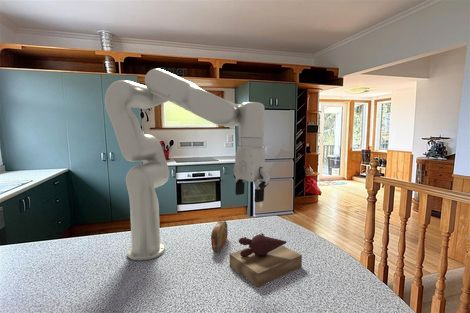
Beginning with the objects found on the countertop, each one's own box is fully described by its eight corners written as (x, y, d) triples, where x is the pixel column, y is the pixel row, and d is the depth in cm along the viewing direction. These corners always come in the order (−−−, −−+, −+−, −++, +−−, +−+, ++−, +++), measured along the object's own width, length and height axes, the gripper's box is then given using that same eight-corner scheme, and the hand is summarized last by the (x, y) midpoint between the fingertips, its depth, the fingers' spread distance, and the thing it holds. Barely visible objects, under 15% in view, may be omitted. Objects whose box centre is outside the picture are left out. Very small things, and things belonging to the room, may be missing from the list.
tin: (218, 256, 87) (218, 232, 87) (209, 255, 88) (209, 231, 87) (228, 238, 102) (228, 218, 101) (220, 237, 103) (220, 217, 102)
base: (229, 265, 81) (229, 253, 80) (270, 250, 91) (271, 239, 91) (258, 287, 69) (258, 273, 69) (301, 267, 80) (301, 255, 79)
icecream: (282, 229, 84) (237, 234, 83) (287, 232, 77) (238, 238, 76) (284, 250, 83) (239, 256, 82) (291, 256, 76) (241, 262, 75)
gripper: (225, 142, 82) (224, 193, 84) (260, 145, 68) (257, 206, 70) (243, 142, 87) (242, 190, 88) (279, 145, 73) (277, 203, 74)
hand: (248, 197), depth 79 cm, fingers open, 9 cm apart
